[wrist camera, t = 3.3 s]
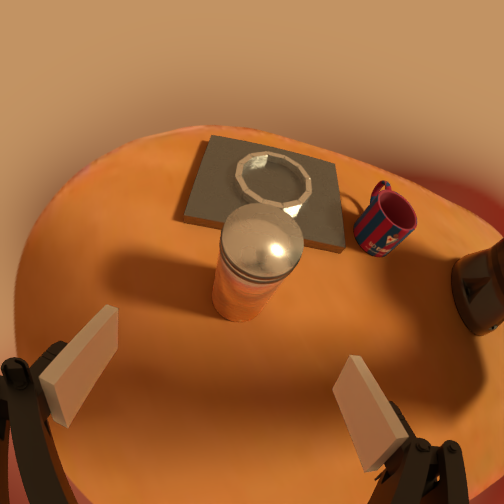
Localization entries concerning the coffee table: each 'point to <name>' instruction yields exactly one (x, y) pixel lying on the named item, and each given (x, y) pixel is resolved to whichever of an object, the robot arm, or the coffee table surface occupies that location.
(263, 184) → the grey base plate
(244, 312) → the disc
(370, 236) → the mug
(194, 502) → the coffee table surface
